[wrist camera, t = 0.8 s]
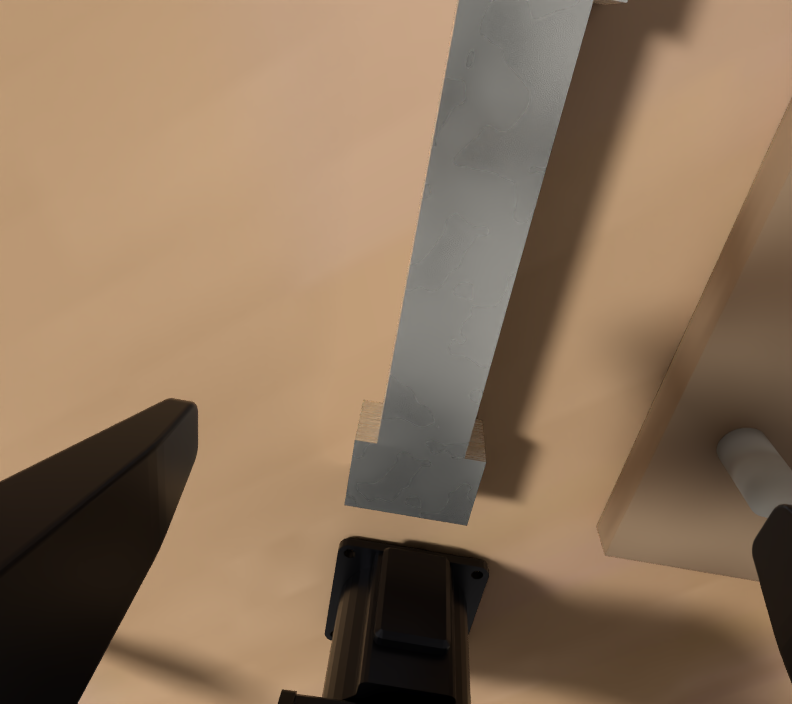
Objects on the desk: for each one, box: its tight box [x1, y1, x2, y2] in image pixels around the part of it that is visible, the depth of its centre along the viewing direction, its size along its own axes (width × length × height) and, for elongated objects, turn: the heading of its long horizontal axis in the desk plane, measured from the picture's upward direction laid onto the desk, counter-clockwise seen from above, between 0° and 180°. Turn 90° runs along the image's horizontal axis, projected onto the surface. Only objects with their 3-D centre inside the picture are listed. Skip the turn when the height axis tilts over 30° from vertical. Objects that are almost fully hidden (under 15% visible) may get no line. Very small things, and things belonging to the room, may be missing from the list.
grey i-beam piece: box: [345, 0, 628, 526], centre depth 18 cm, size 20×4×2 cm, turn 171°
